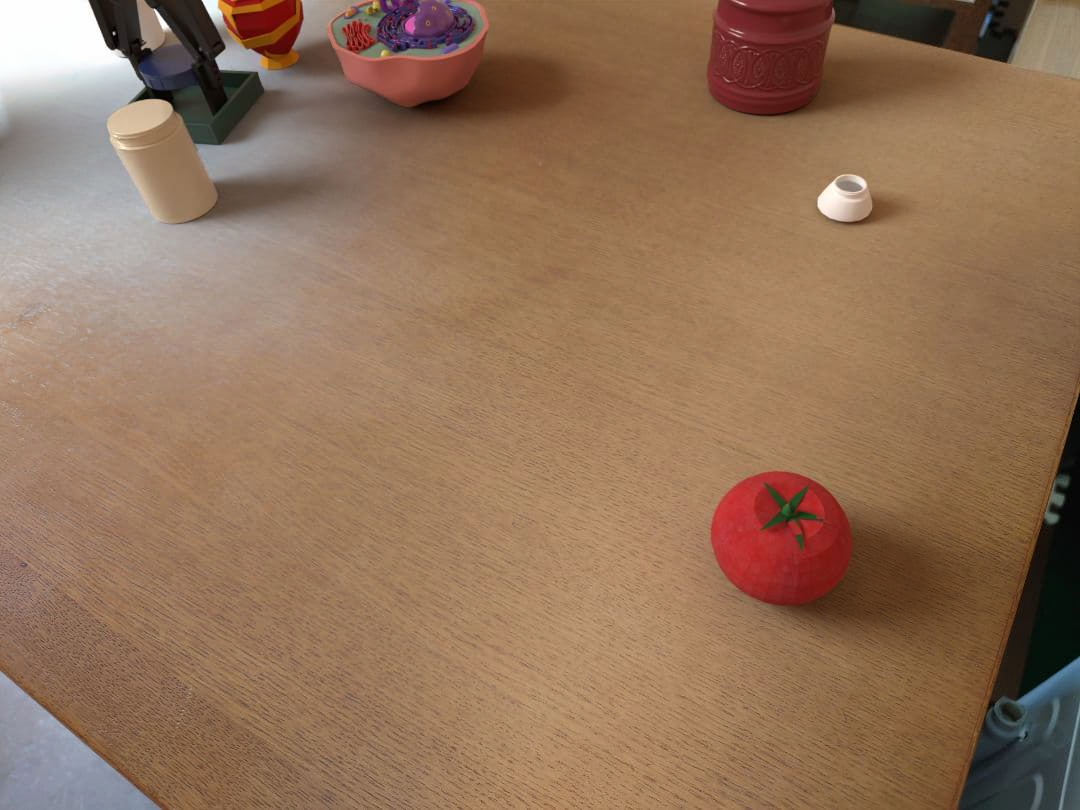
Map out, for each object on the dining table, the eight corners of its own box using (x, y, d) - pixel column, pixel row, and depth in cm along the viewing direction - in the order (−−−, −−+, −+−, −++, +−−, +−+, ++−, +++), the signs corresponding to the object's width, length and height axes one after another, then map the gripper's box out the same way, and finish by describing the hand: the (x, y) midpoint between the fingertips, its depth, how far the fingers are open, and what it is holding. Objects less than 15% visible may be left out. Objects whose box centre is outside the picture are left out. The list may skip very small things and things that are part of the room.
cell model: (390, 47, 104) (369, -44, 95) (522, 71, 97) (513, -24, 89) (314, 111, 95) (283, 18, 86) (454, 143, 88) (436, 45, 80)
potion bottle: (324, 67, 102) (287, -57, 90) (245, 87, 100) (197, -38, 88) (311, 34, 108) (274, -87, 97) (237, 51, 106) (191, -69, 95)
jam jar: (138, 220, 83) (87, 134, 75) (172, 181, 88) (128, 95, 80) (197, 226, 82) (152, 138, 74) (229, 185, 86) (189, 98, 78)
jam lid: (223, 60, 94) (218, 46, 93) (186, 93, 89) (180, 79, 88) (170, 54, 96) (164, 41, 95) (131, 86, 91) (124, 73, 90)
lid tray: (123, 137, 94) (112, 118, 92) (174, 85, 102) (165, 66, 100) (219, 145, 92) (210, 125, 90) (264, 91, 99) (257, 71, 97)
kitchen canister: (723, 53, 97) (741, -109, 83) (829, 68, 93) (867, -99, 79) (690, 106, 90) (705, -61, 76) (804, 125, 85) (841, -47, 72)
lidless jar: (817, 223, 75) (871, 226, 74) (823, 197, 73) (879, 201, 72) (816, 192, 78) (868, 195, 77) (822, 166, 76) (876, 169, 75)
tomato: (825, 644, 49) (856, 588, 43) (690, 598, 52) (700, 539, 46) (848, 529, 54) (878, 465, 48) (723, 493, 57) (737, 427, 51)
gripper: (203, -112, 78) (280, 99, 96) (43, -118, 83) (144, 84, 101) (159, -83, 74) (248, 133, 91) (-7, -91, 79) (107, 115, 96)
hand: (193, 107), depth 96 cm, fingers closed on jam lid, 8 cm apart
